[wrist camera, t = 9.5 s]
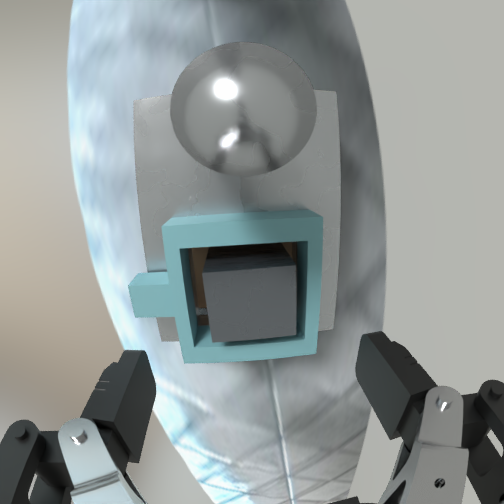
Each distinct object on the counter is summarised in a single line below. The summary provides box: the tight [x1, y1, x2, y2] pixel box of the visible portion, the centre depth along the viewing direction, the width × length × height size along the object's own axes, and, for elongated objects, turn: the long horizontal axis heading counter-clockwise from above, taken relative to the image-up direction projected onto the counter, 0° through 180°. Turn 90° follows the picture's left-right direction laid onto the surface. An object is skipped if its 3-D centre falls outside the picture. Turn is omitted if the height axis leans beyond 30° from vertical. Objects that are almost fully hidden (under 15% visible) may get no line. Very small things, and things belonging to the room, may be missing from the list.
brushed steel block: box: [202, 242, 296, 343], centre depth 17 cm, size 4×4×7 cm
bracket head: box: [128, 210, 323, 363], centre depth 16 cm, size 8×11×2 cm
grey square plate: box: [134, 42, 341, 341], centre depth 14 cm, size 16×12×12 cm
